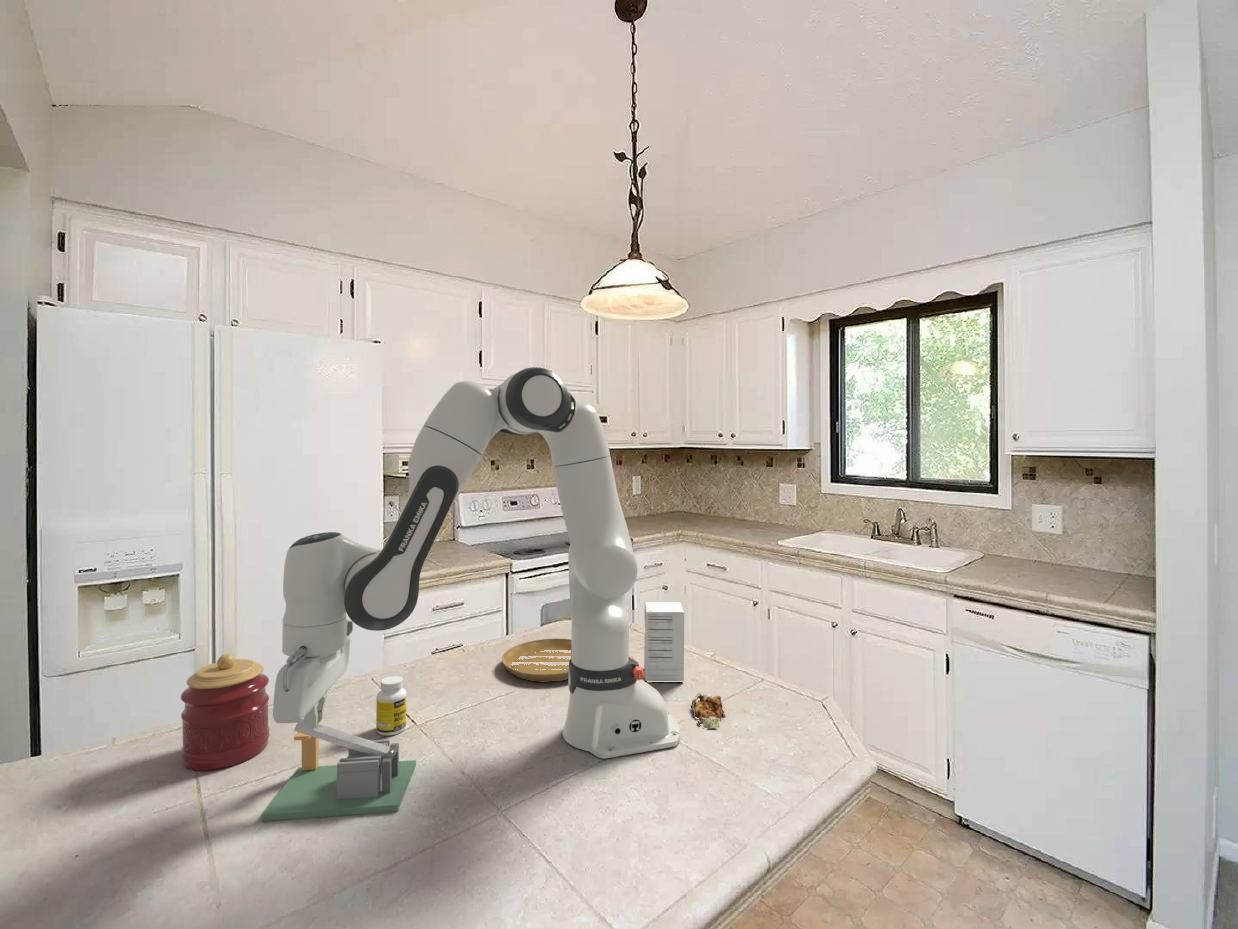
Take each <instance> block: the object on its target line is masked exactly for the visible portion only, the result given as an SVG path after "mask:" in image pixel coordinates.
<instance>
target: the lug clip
mask: <svg viewBox="0 0 1238 929" xmlns="http://www.w3.org/2000/svg"><path fill="white" fill-rule="evenodd" d="M319 740H320V739H318V738H315V737H312V736H309V735H306V734H302V733H299V732H296V734H295V735H294V736H293V741H301V767H302V770H316V769H317V767H318V766H320V762H319V760H320V758H319V752H320V751H319V750H320V749H319V746H320V745H319Z"/></svg>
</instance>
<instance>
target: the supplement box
mask: <svg viewBox="0 0 1238 929" xmlns="http://www.w3.org/2000/svg"><path fill="white" fill-rule="evenodd" d="M643 658H644V659H643V660H644V661H643V662H644V664H643V666H644V667H643V671H644V674H645V675H644V681H685V678H684V677H685V611H684V609H683V606H682V603H681V602H678V601H677V602H676V601H669V602H668V601H664V602H663V601H662V602H661V601H660V602H659V601H645V602H644V652H643Z"/></svg>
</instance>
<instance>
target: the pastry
mask: <svg viewBox="0 0 1238 929" xmlns="http://www.w3.org/2000/svg"><path fill="white" fill-rule="evenodd" d="M697 699H699V700H697ZM691 702H692V707H691V708H692V712H693V717H697V718H699V719H698V720H697V722H698V724H699V725H700V724H703V727H704V728H707V730H710V729H715V730H717V727H720V724H721V725H722V723H721V719H722V717H723V716H724V715H725V716H726V713H725V710H724V709H723V710H724V711H723V710H722V708H723V702H722V697H721V696H720V695H716V696H712V695H711V694H710V693H707V694H704V695H703V694H702V693H700V692H697V693H696V695H695V697H694V698H692V701H691ZM724 713H725V714H724ZM698 724H697V725H698ZM699 725H698V726H699ZM703 727H702V728H703ZM704 728H703V729H704ZM720 728H721V727H720Z"/></svg>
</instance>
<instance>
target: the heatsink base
mask: <svg viewBox="0 0 1238 929" xmlns="http://www.w3.org/2000/svg"><path fill="white" fill-rule="evenodd" d="M371 741H374V742H377V743H380V744H383V745H386V746H389V747H390V746H391V745H396V746H397V748H398V750H397V752H396V754H395V756H394V758H393V760H392V762H391V758H386V759H382V758H381V756H372V755H369V754H366V753H363V752H360V751H356V750H353V749H350V748H348V755H347V757H345V758H344V757H342V758H339V761H338V762H337V763H336V764H333V765H332V764H331V765H319V766H318V767H317V769H316V770H302V766H301V767H297V769H296V770H295V771H294V772H293V774H292V775H291V777H290V778H289V779H288V781H287V782H286V783H285V784H284V785H283V787H282V788H281V789H280V791H279V792H278V793H277V795H276V796H274V798H273V800H272V801H271V802H270V803H269V805H268V806H267V808H266V809H265V810H264V811H263V813H262V814H261V817H262V818H261V821H262V822H271V821H285V820H299V819H311V818H315V819H316V818H325V817H327V818H328V817H339V816H341V817H342V816H355V815H366V814H367V815H368V814H381V813H393V812H394V813H395V812H398V811H399V809H400V806H401V803H402V801H403V798H404V796H405V794H406V791H407V788H408V787H409V783H410V782H411V779H412V777H413V774H414V772H415V769H416V766H417V760H416V759H415V760H400V743H399V742H395V743H391V739H390V738H389V739H374V740H371Z"/></svg>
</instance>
